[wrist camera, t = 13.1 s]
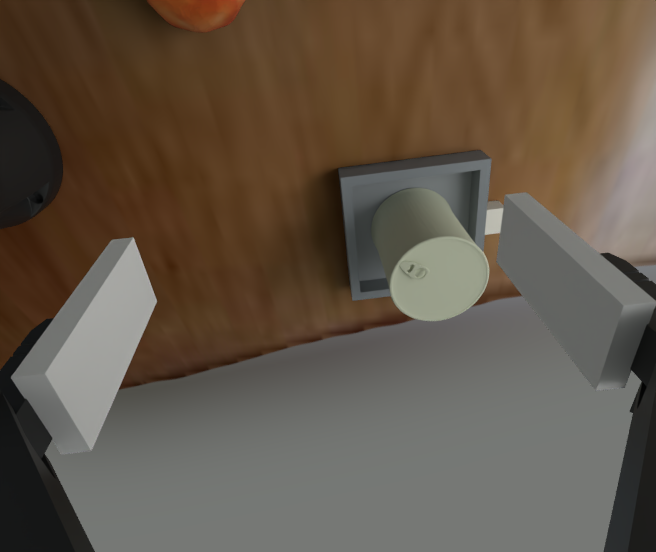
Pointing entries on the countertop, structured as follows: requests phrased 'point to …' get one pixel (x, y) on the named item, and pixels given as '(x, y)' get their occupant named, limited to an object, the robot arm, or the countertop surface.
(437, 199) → the can
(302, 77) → the countertop surface
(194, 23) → the tomato
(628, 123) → the countertop surface
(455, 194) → the drawer
